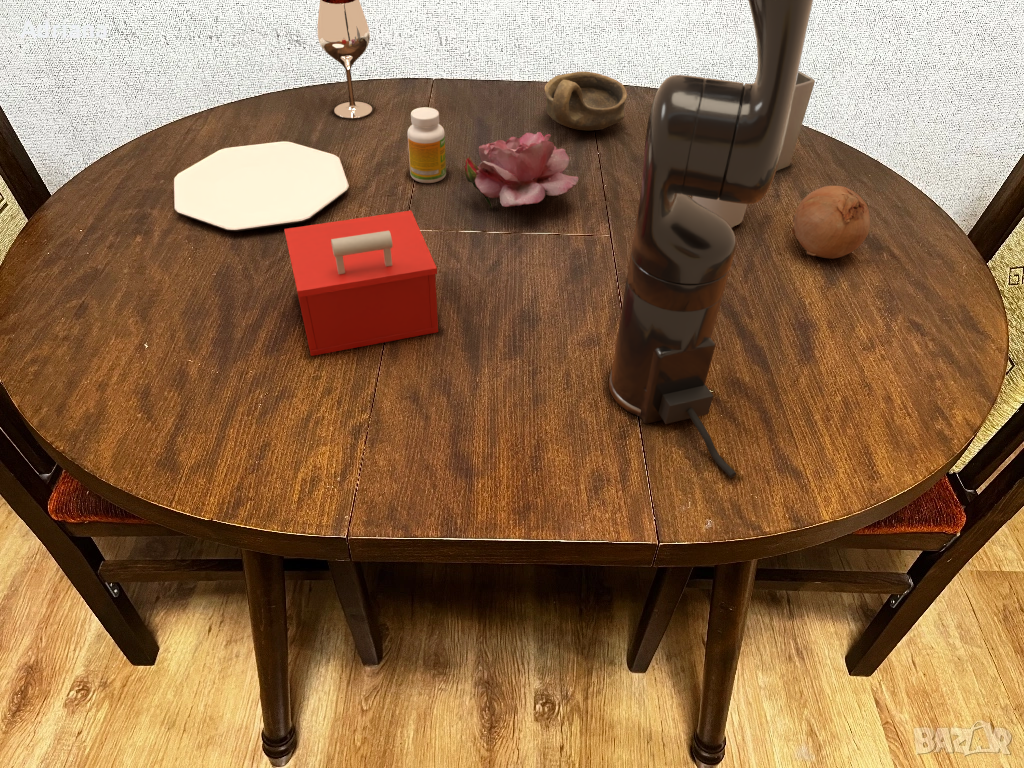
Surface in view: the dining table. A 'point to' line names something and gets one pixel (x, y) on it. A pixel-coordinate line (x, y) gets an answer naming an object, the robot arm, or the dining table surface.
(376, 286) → the red box
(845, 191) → the onion
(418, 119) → the supplement bottle
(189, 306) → the dining table surface
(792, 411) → the dining table surface
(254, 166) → the plate
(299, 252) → the red box lid
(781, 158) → the planter
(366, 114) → the wineglass
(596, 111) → the bowl
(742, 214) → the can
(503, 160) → the flower
